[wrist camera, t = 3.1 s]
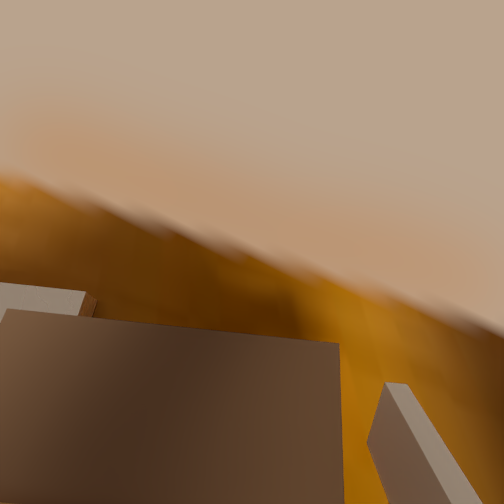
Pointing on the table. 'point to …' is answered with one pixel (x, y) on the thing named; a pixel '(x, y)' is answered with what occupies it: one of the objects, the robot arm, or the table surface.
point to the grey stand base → (45, 300)
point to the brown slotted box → (165, 414)
